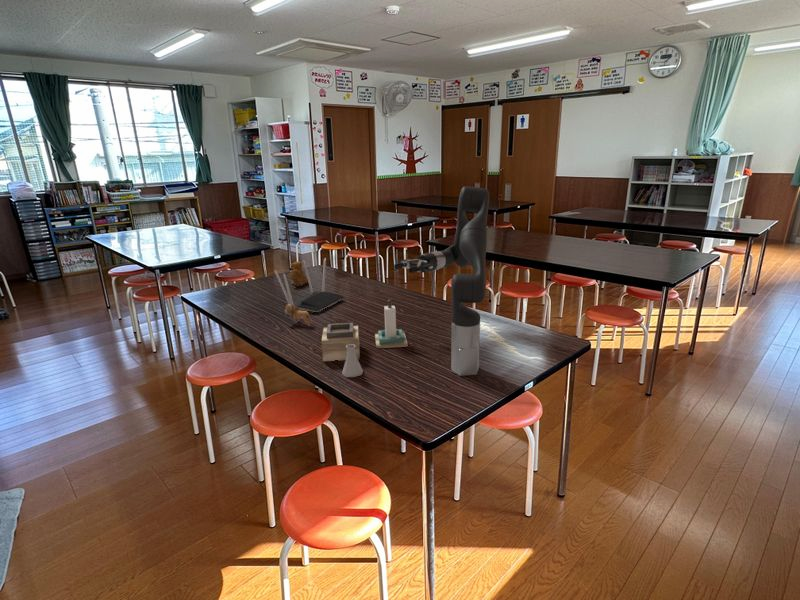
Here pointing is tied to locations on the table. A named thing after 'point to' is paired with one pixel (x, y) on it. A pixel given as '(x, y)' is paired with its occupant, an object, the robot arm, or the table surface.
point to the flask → (351, 363)
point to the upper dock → (339, 341)
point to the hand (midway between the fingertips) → (401, 268)
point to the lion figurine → (298, 314)
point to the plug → (390, 320)
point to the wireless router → (311, 295)
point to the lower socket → (390, 339)
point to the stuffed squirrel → (298, 274)
